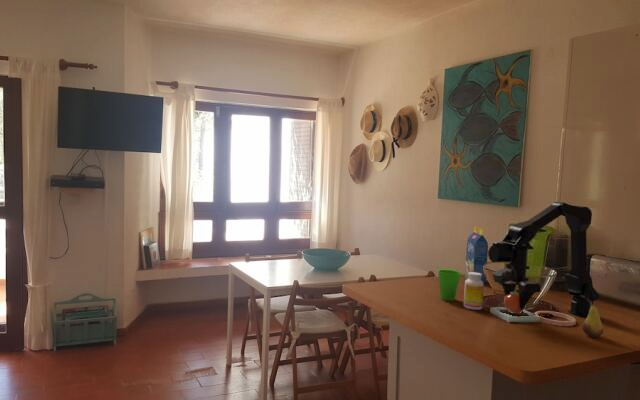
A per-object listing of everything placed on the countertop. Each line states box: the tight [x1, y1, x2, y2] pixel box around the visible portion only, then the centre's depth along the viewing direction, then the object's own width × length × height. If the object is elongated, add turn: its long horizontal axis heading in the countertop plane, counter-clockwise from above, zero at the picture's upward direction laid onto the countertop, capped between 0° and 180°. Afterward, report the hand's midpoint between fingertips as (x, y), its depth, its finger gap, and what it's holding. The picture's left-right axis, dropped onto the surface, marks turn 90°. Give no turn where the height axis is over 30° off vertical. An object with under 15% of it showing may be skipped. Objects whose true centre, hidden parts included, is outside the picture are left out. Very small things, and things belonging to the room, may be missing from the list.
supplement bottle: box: [463, 272, 485, 311], centre depth 176 cm, size 7×7×13 cm
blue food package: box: [464, 226, 489, 284], centre depth 224 cm, size 6×12×25 cm, turn 0°
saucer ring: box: [533, 310, 577, 327], centre depth 166 cm, size 13×13×1 cm
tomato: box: [503, 288, 527, 313], centre depth 167 cm, size 7×7×8 cm
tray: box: [489, 306, 540, 323], centre depth 167 cm, size 12×12×2 cm
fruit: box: [582, 297, 604, 338], centre depth 150 cm, size 6×6×12 cm
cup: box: [437, 268, 462, 302], centre depth 187 cm, size 9×9×11 cm
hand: (515, 306), depth 167 cm, fingers closed on tomato, 7 cm apart
